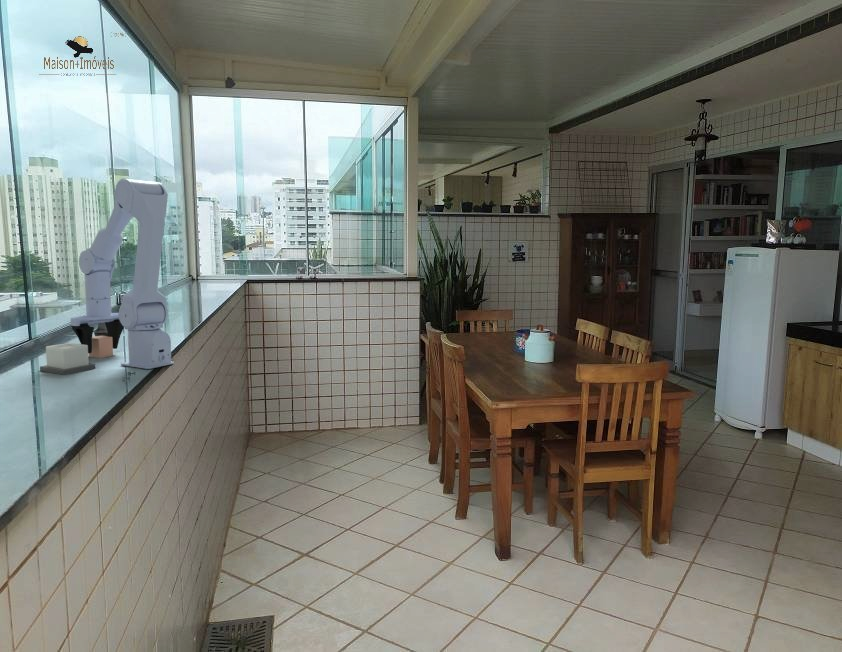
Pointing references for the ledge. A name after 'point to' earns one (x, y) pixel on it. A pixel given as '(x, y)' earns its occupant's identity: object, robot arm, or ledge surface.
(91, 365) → the tower base
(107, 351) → the terracotta brick
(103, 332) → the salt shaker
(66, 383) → the ledge surface
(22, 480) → the ledge surface
